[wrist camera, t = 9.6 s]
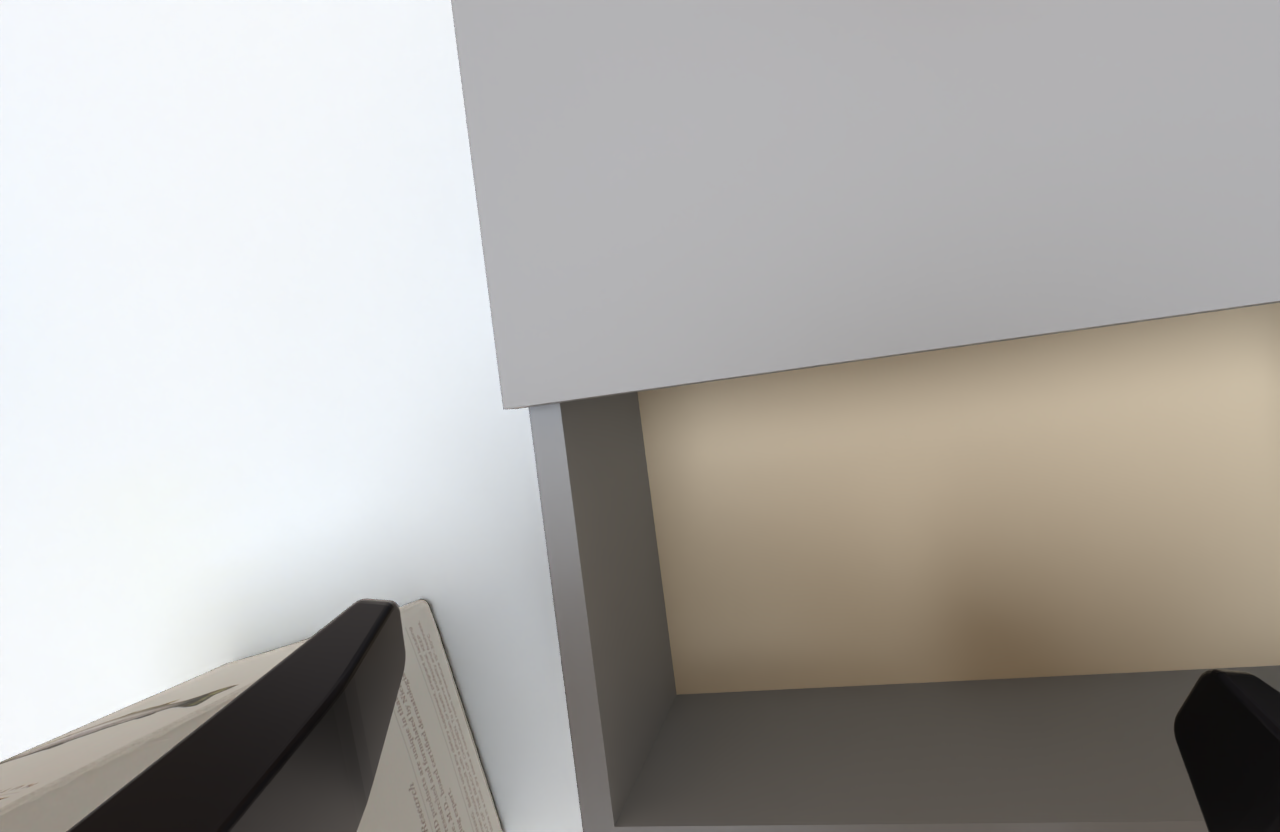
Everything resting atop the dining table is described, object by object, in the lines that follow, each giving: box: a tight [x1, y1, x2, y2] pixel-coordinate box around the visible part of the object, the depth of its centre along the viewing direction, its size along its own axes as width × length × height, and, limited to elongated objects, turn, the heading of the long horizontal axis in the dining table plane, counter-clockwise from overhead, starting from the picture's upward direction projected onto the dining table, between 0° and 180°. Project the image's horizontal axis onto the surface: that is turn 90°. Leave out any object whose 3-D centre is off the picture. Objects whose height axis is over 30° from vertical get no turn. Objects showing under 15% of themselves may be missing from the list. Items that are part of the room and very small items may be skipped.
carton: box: [529, 303, 1280, 832], centre depth 16 cm, size 12×16×7 cm
